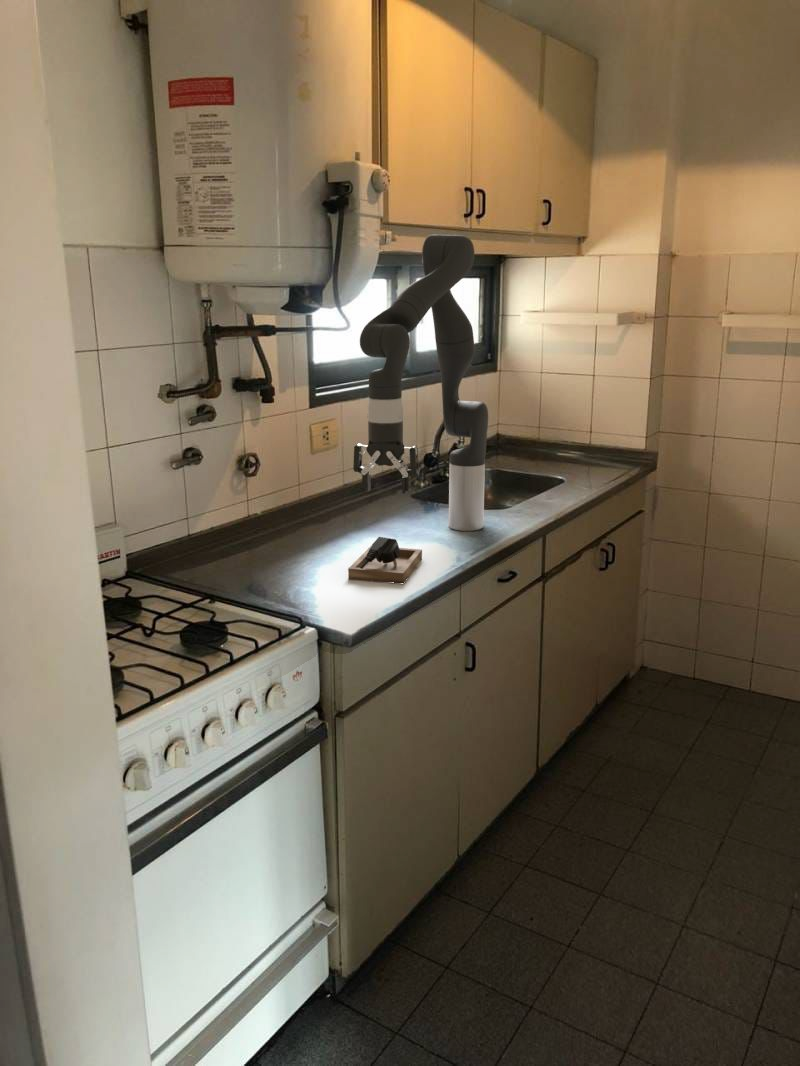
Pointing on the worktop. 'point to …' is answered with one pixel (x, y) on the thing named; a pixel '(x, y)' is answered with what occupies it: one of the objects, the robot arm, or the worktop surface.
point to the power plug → (383, 551)
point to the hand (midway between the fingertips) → (386, 492)
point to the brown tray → (386, 567)
